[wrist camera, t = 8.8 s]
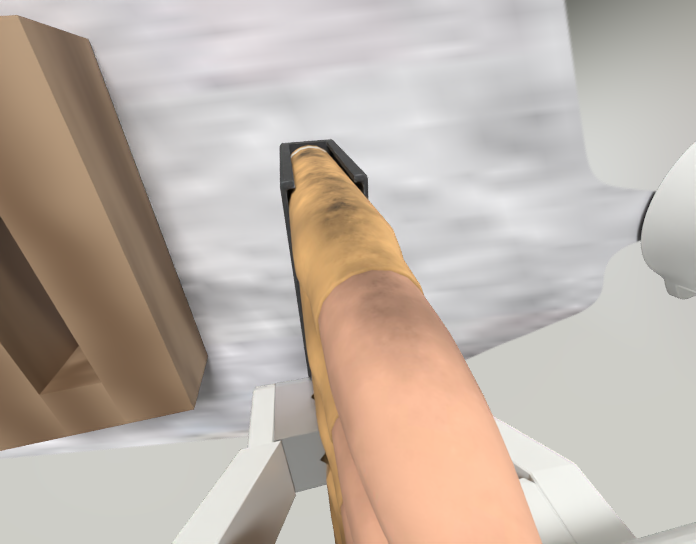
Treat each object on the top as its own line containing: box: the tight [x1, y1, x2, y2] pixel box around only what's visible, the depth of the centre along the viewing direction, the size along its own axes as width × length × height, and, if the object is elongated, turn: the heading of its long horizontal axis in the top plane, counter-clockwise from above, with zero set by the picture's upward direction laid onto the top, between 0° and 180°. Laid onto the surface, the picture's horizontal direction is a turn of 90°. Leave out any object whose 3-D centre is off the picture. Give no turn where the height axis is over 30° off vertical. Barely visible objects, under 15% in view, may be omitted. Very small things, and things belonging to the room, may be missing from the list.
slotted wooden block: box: [0, 15, 208, 451], centre depth 18 cm, size 11×20×5 cm, turn 5°
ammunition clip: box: [280, 139, 542, 544], centre depth 8 cm, size 11×2×12 cm, turn 3°
